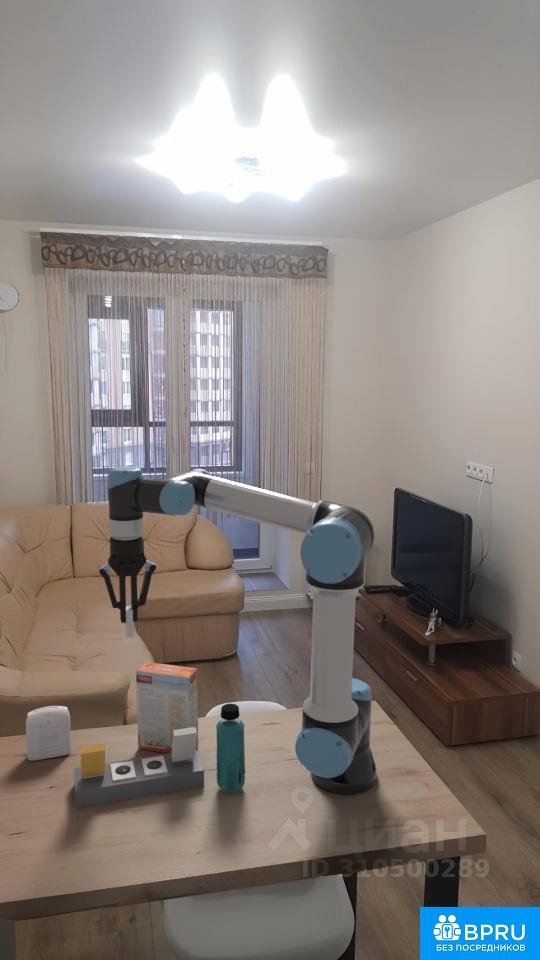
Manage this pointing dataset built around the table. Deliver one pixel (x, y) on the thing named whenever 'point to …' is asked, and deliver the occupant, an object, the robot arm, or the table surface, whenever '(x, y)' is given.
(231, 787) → the beverage bottle
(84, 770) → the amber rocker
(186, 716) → the cracker box
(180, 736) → the block
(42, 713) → the photo printer
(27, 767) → the table surface
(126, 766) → the power strip
